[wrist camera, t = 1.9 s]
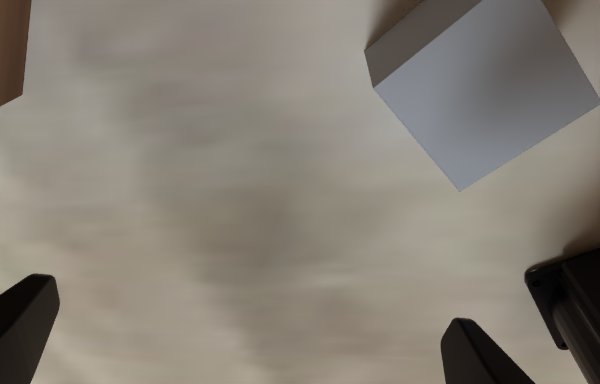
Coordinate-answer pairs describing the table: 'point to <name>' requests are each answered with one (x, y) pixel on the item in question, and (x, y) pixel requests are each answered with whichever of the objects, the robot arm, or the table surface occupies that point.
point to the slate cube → (478, 81)
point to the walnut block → (13, 47)
